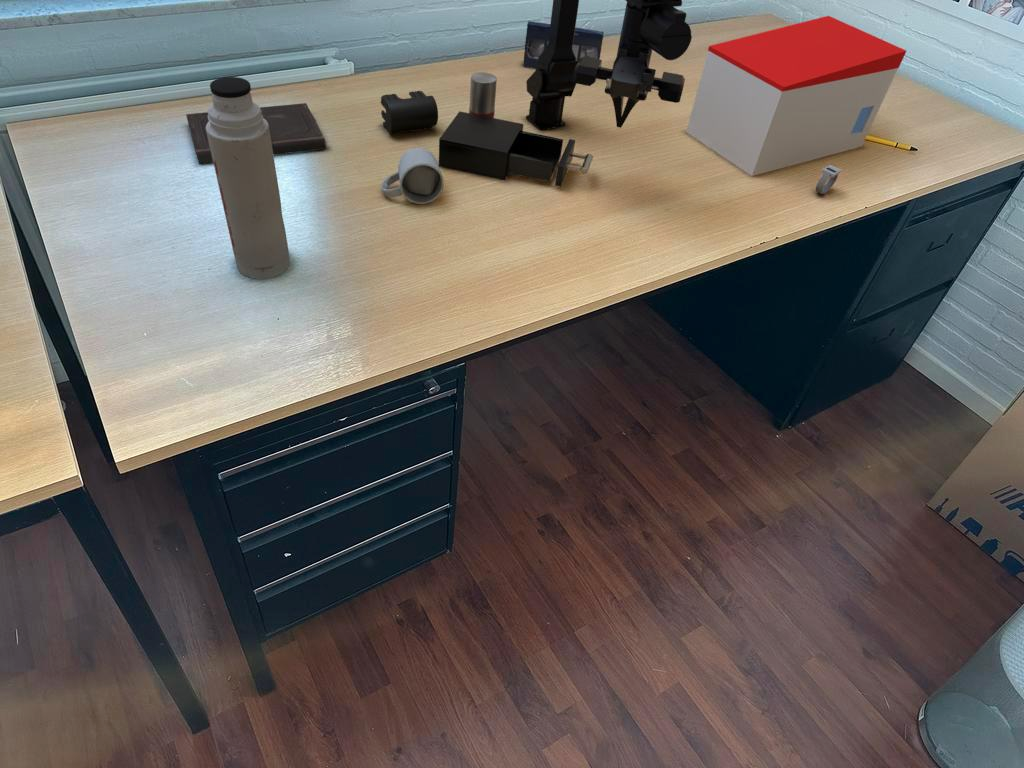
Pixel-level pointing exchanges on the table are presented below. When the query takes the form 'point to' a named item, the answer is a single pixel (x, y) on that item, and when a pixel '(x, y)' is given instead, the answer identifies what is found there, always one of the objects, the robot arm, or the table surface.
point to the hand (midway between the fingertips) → (619, 126)
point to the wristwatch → (827, 172)
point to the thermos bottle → (247, 179)
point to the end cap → (409, 112)
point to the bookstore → (792, 93)
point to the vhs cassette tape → (538, 37)
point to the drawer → (543, 157)
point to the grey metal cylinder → (483, 94)
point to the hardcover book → (286, 126)
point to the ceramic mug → (416, 177)
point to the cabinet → (478, 145)
